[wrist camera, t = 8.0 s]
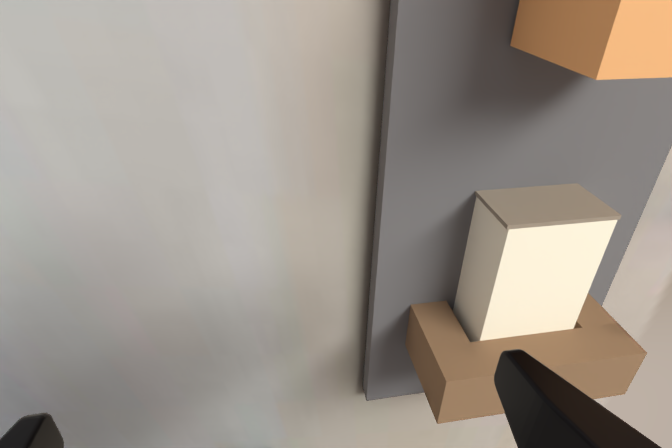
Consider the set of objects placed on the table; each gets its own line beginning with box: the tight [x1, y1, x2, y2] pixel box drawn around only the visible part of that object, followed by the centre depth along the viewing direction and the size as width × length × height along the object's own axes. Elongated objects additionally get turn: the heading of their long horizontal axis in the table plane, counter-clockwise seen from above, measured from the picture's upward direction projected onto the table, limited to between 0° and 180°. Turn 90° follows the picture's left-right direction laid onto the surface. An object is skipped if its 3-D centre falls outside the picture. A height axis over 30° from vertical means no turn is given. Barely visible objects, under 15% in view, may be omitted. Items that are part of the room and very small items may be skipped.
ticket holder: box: [363, 0, 672, 424], centre depth 19 cm, size 30×14×6 cm, turn 179°
